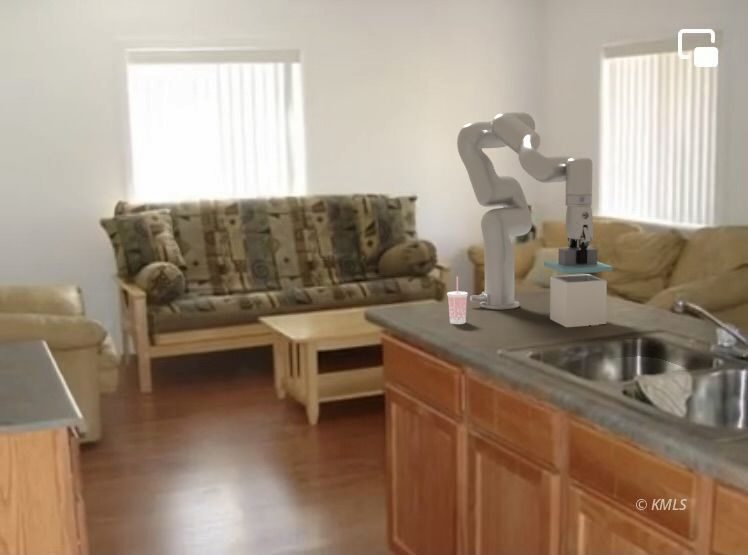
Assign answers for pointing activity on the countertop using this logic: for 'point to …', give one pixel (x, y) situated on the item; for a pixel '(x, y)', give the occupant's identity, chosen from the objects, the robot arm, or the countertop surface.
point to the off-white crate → (578, 300)
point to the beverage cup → (457, 306)
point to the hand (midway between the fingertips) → (577, 261)
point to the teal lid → (570, 266)
